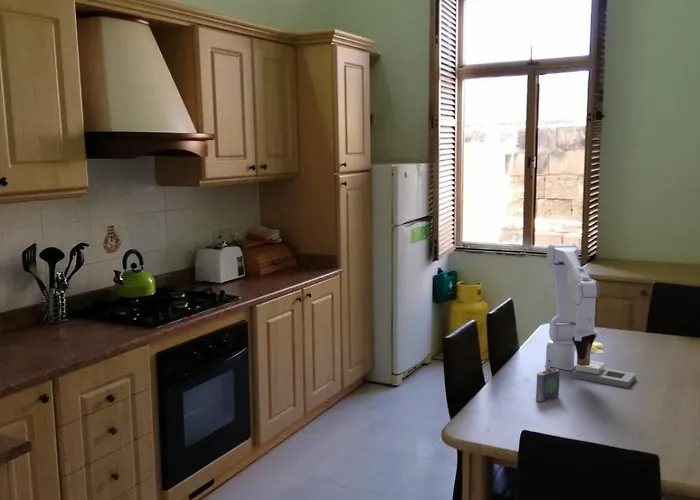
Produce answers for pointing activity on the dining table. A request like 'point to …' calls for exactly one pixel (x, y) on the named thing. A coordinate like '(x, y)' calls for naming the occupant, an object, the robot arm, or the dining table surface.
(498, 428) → the dining table surface
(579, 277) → the robot arm
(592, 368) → the sliding cover
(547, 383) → the flask
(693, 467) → the dining table surface
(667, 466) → the dining table surface
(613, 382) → the grey flat frame
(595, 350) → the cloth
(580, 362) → the pin
